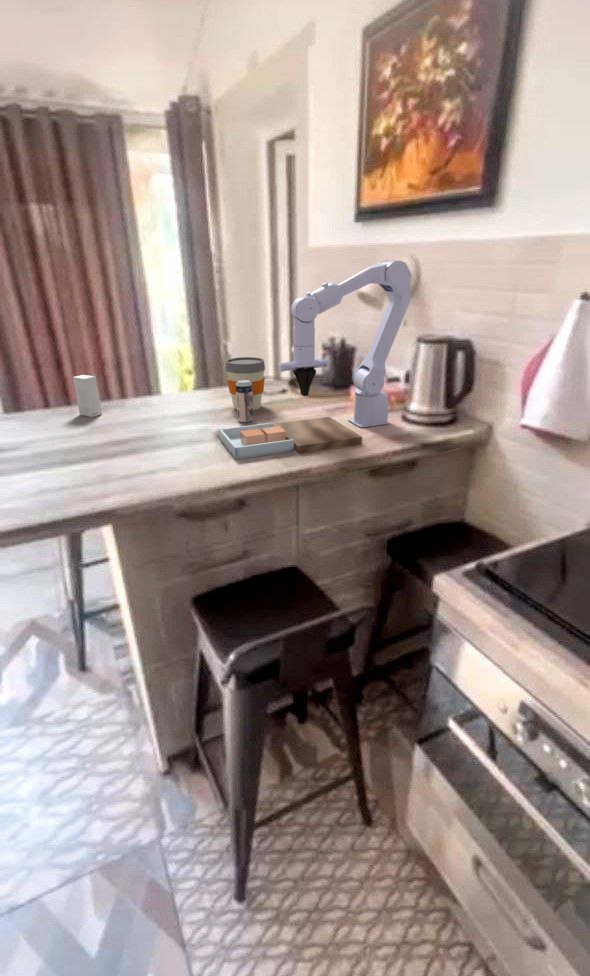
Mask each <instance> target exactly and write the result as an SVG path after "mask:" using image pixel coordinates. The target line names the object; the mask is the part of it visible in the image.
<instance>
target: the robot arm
mask: <svg viewBox="0 0 590 976" xmlns="http://www.w3.org/2000/svg"><path fill="white" fill-rule="evenodd" d="M412 276H413V274H412V273H411V271H410V269H409V266H408V264H407V263H406V262H405V261H403V260H386V259H385V260H381V261H380V262H379V263H374V264H371V265H370V266H368V267H366V268H364V269H363V270H361V271H358V272H357V273H356V274H354V275H352V276H349V278H347V279H345V280H343V281H341V282H340V283H338V284H336V283H334V282H329V283H328V282H323V283H322V284H321V286H322V287H320V288H318V289H315V290H314V291H312V292H311V291H308V292H306V293H305V295H306V297H302V296H300V297H297V298H296V299H295V300H294V301H293V302H292V304H291V307H290V309H289V310H290V314H291V316H292V318H293V328H292V331H293V335H292V337H293V360H292V361H287V362H286V361H285V362H280V363H278V364H277V365H278V367H277V368H278V369H277V370H278V372H281V373H282V372H287V371H292V373H293V375H294V377H295V379H296V381H297V383H298V387H299V392H300V395H301V396H303V397H308V396H309V393H310V388H311V386H312V383H313V380H314V378H315V376H316V374H317V369H318V368H330V367H331V360H330V359H328V358H323V359H318V358H317V359H315V357H316V356H315V355H316V347H315V346H316V331H315V330H316V328H315V327H316V326H315V319H316V318H317V317H318V315H320V314H323V313H324V312H327V311H328V310H330V309H332V308H333V307H336V306H338V305H340V304H341V302H342V299H343V297H344V296H346V295H348V294H351V293H353V292H355V291H357V290H359V289H362V288H363V287H366V286H368V285H370V284H378V286H380V287H381V288H382V289H383V290H384V293H385V295H386V297H387V299H388V303H387V305H386V308H385V311H384V313H383V315H382V318H381V320H380V323H379V325H378V327H377V330H376V334H375V336H374V338H373V340H372V344H371V345H370V348H369V351H368V353H367V356H366V357H365V358H364V359H363V360H362V361H361V363H360V364H359V366H358V368H356V370H354V372H353V374H352V382H353V385H354V386H355V389H354V402H353V403H354V404H353V417H352V418H348V419H347V421H348V422H350V423H352V424H353V425H355V426H357V427H359V428H367V427H368V428H369V427H374V426H375V427H376V426H383V425H389V424H390V422H389V421H388V419H389V418H388V415H389V396H388V394H387V393H386V392H385V391H382V390H383V389H384V386H385V376H386V373H387V369H386V361H387V358H388V356H389V354H390V351H391V349H392V346H393V344H394V342H395V340H396V337H397V334H398V331H399V330H400V327H401V324H402V322H403V320H404V318H405V315H406V312H407V310H408V308H409V305H410V302H411V298H412V297H411V295H412V294H411V280H412Z"/></svg>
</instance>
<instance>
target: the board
mask: <svg viewBox="0 0 590 976" xmlns="http://www.w3.org/2000/svg"><path fill="white" fill-rule="evenodd" d="M276 426H280V427H281V428H282V429H283V430H285V431H286V440H291V439H293V440H294V450H295V451H294V452H295V453H297V454H298V453H299V454H304V453H310V452H311V453H312V452H318V451H323V450H324V451H325V450H331V449H338V448H343V447H345V448H346V447H350V446H352V447H353V446H358V445H362V444H363V436H361V435H360V434H359V433H357V432H355V431H353V429H350V428H348V427H347V426H346V425H343V424H342V423H340V422H339V421H337V420H336V419H334V418H333V417H331V416H324V417H315V418H306V419H299V420H292V421H285V422H284V421H283V422H276V423H273V427H276Z"/></svg>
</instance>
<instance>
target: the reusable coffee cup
mask: <svg viewBox="0 0 590 976" xmlns="http://www.w3.org/2000/svg"><path fill="white" fill-rule="evenodd" d="M265 370H266V365H265V360H264V358H261V357H254V356H253V357H252V356H251V357H250V356H245V357H244V356H243V357H241V356H240V357H232V358H229V359H226V361H225V371H226V373H227V379H226V380H227V381H226V382H227V386H228V392H229V394H231V395H230V396H231V401H232V406H233V409H234V410H236V409H237V399H236V383H237V381H238V380H250V381H251V383H252V391H253V411H256V410H259V409H260V408H261V407H262V400H263V399H262V398H263V393H264V389H265V388H264V387H265ZM255 409H256V410H255Z"/></svg>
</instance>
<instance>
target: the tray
mask: <svg viewBox="0 0 590 976" xmlns="http://www.w3.org/2000/svg"><path fill="white" fill-rule="evenodd" d="M273 424H274V422H266V423H258V424H250V425H249V424H248V425H242V426H234V427H227V428H219V429H218V435H219V440H220V442H221V444H223V446H224V447H225V448H226V450H227V451H228V452H229V454H230V455H232V457H233V458H234V459H235V460H243V458H244V459H249V458H250V457H251V458H256V457H257V456H258V457H262V456H270V455H278V454H283V453H284V452H285V453H289V452H290V453H291V451H292V452H295V451H294V440H293V439H291V440H284V441H276V442H269V443H262V444H254V445H247V446H244V445H243V444H242V443H241V439H240V431H245V430H252V429H259V430H260V431H261V428H268V427H273ZM261 432H262V431H261ZM277 453H278V454H277ZM285 453H284V454H285Z"/></svg>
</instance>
